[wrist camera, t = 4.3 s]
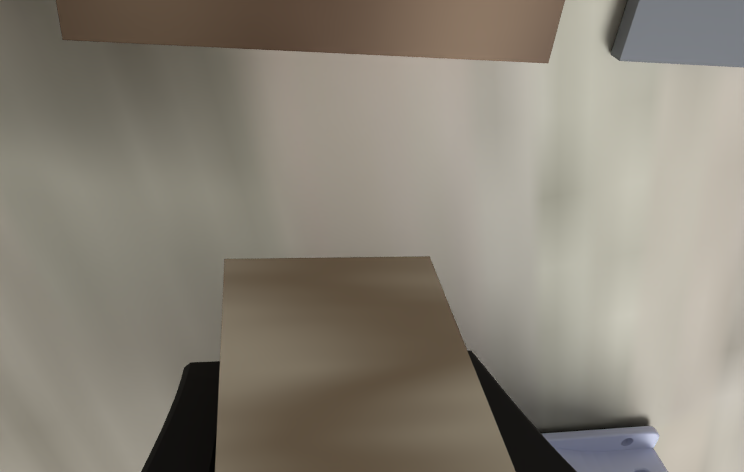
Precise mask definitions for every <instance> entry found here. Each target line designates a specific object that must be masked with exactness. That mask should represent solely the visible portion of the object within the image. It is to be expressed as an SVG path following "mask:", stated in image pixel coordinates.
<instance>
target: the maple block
mask: <svg viewBox="0 0 744 472" xmlns="http://www.w3.org/2000/svg"><path fill="white" fill-rule="evenodd" d="M215 472H516V471H515V469H514V466H513V464H512V461H511V459H510V456H509V454H508V451H507V449H506V446H505V444H504V441H503V439H502V436H501V434H500V431H499V429H498V426H497V424H496V421H495V419H494V416H493V414H492V411H491V409H490V406H489V404H488V401H487V399H486V396H485V394H484V391H483V389H482V386H481V384H480V381H479V379H478V376H477V374H476V371H475V369H474V366H473V364H472V361H471V359H470V356H469V354H468V351H467V349H466V346H465V344H464V341H463V339H462V336H461V334H460V331H459V329H458V326H457V324H456V321H455V319H454V316H453V314H452V311H451V309H450V306H449V304H448V301H447V299H446V296H445V294H444V291H443V289H442V286H441V284H440V281H439V279H438V277H437V274H436V272H435V269H434V267H433V264H432V262H431V259H430V257H350V258H270V259H225V260H224V282H223V305H222V327H221V349H220V371H219V394H218V416H217V438H216V460H215Z"/></svg>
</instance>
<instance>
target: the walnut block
mask: <svg viewBox="0 0 744 472" xmlns="http://www.w3.org/2000/svg"><path fill="white" fill-rule="evenodd" d="M564 2H565V0H56V4H57V10H58V15H59V21H60V27H61V33H62V39H63V40H76V41H96V42H117V43H138V44H159V45H180V46H200V47H221V48H242V49H263V50H283V51H304V52H325V53H346V54H366V55H387V56H408V57H429V58H449V59H470V60H491V61H512V62H532V63H548V62H549V58H550V55H551V51H552V47H553V43H554V40H555V36H556V32H557V28H558V24H559V21H560V17H561V13H562V9H563V6H564Z"/></svg>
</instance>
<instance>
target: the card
mask: <svg viewBox="0 0 744 472" xmlns="http://www.w3.org/2000/svg"><path fill="white" fill-rule="evenodd" d="M611 55H612V56H613V57H615V58H616V59H618V60H619V61H632V62H651V63H670V64H689V65H708V66H728V67H744V0H628V1H627V4H626V8H625V11H624V14H623V17H622V20H621V23H620V26H619V30H618V33H617V36H616V39H615V42H614V45H613V48H612V51H611Z"/></svg>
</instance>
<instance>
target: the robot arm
mask: <svg viewBox="0 0 744 472" xmlns="http://www.w3.org/2000/svg"><path fill="white" fill-rule="evenodd" d="M468 354H469V356H470V359H471V361H472V364H473V366H474V369H475V371H476V374H477V376H478V379H479V381H480V384H481V386H482V389H483V391H484V394H485V396H486V399H487V401H488V404H489V406H490V409H491V411H492V414H493V416H494V419H495V421H496V424H497V426H498V429H499V431H500V434H501V436H502V439H503V441H504V444H505V446H506V449H507V451H508V454H509V456H510V459H511V461H512V464H513V466H514V469H515V471H516V472H668V471H667V469H666V468H665V466H664V464H663V463H662V461H661V460H660V458H659V456H658V455H657V453H656V452H655V450H654V449H653V448H654V446H655V444H656V443H657V441H658V439H659V434H658V432H657V431H656V429H655V428H654V427H652V426H639V427H625V428H611V429H597V430H584V431H570V432H556V433H542V434H541V433H540V432H539V431H538V430H537V429H536V427H535V426H534V425H533V424H532V423H531V422H530V421H529V420H528V418H527V417H526V416H525V415H524V414H523V413H522V412H521V410H520V409H519V408H518V407H517V406H516V404H515V403H514V402H513V401H512V400H511V399H510V397H509V396H508V395H507V394H506V393H505V391H504V390H503V389H502V388H501V387H500V385H499V384H498V383H497V382H496V380H495V379H494V378H493V377H492V376H491V374H490V373H489V372H488V371H487V369H486V368H485V367H484V366H483V364H482V363H481V362H480V361H479V360H478V358H477V357H476V356H475V355H474V354H473V353H472V352H471V351H468ZM219 371H220V361H218V362H195V363H189V364H188V365H187V366H186V367H184V370H183V374H182V378H181V381H180V384H179V387H178V390H177V393H176V396H175V399H174V401H173V404H172V406H171V409H170V411H169V414H168V416H167V418H166V421H165V423H164V425H163V428H162V430H161V432H160V434H159V436H158V438H157V440H156V442H155V444H154V447H153V449H152V451H151V453H150V455H149V457H148V459H147V461H146V463H145V465H144V467H143V469H142V471H141V472H215V460H216V438H217V416H218V394H219Z"/></svg>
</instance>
